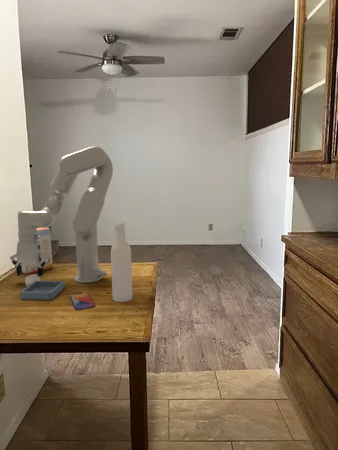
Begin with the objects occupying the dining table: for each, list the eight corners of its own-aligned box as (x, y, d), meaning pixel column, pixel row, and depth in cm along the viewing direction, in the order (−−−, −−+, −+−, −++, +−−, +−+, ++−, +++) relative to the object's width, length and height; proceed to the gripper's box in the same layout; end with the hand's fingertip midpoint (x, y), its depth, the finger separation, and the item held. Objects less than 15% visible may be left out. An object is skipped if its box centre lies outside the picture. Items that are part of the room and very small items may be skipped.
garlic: (43, 284, 157) (42, 276, 156) (27, 287, 153) (26, 279, 153) (39, 280, 164) (38, 272, 163) (23, 282, 160) (22, 274, 159)
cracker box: (47, 266, 185) (44, 226, 181) (53, 268, 181) (50, 228, 177) (21, 272, 175) (17, 230, 172) (26, 274, 171) (22, 232, 167)
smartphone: (75, 312, 128) (75, 309, 128) (69, 297, 142) (69, 294, 142) (96, 308, 131) (95, 306, 131) (88, 294, 145) (87, 291, 145)
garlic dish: (65, 287, 152) (64, 281, 152) (51, 299, 139) (51, 293, 138) (35, 286, 154) (35, 280, 153) (19, 299, 140) (19, 292, 139)
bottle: (113, 295, 143) (110, 221, 138) (132, 294, 144) (130, 221, 138) (111, 302, 135) (108, 225, 130) (132, 301, 136) (130, 224, 131)
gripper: (50, 237, 159) (52, 273, 162) (13, 235, 161) (15, 272, 164) (43, 240, 152) (45, 278, 155) (4, 239, 153) (7, 277, 156)
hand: (30, 275), depth 159 cm, fingers open, 9 cm apart
